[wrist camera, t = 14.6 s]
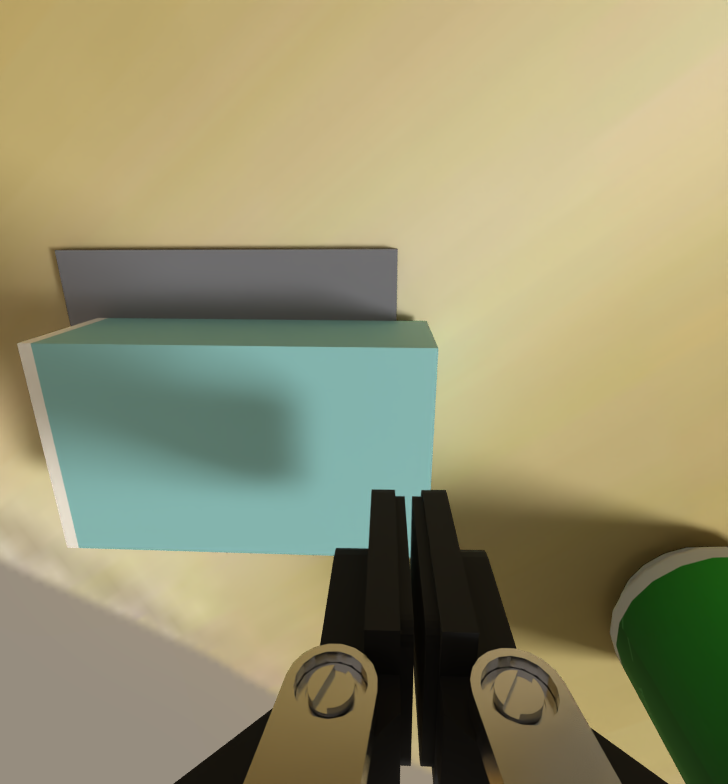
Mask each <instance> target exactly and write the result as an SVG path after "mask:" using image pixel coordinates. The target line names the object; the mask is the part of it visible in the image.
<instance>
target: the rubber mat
mask: <svg viewBox="0 0 728 784" xmlns="http://www.w3.org/2000/svg"><path fill="white" fill-rule="evenodd" d="M397 250H398V249H175V250H55V254H56V259H57V264H58V268H59V273H60V278H61V282H62V287H63V292H64V297H65V301H66V306H67V311H68V316H69V320H70V325H71V326H74V325H77V324H80V323H83V322H86V321H90V320H93V319H96V318H153V319H258V320H363V321H396V307H397Z"/></svg>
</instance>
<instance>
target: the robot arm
mask: <svg viewBox="0 0 728 784" xmlns="http://www.w3.org/2000/svg"><path fill="white" fill-rule="evenodd" d="M413 667H414V679H415V694H416V710H417V725H418V741H419V756H420V765H421V766H429V767H432V775H433V784H668V783H667V782H665V781H664V780H662V779H661V778H660V777H658V776H657V775H655V774H654V773H653V772H651V771H650V770H648V769H647V768H646V767H644V766H643V765H642V764H640V763H639V762H637V761H636V760H635V759H633V758H632V757H630V756H629V755H628V754H626V753H625V752H623V751H622V750H621V749H619V748H618V747H617V746H615V745H614V744H612V743H611V742H610V741H608V740H607V739H605V738H604V737H603V736H601V735H600V734H599V733H597V732H596V731H594V730H593V729H592V728H590V726H589V725H588V723H587V721H586V719H585V718H584V716H583V714H582V712H581V710H580V709H579V707H578V705H577V703H576V702H575V700H574V698H573V696H572V694H571V693H570V691H569V689H568V687H567V686H566V684H565V682H564V681H563V680H562V678H561V677H560V676H559V674H558V673H557V671H556V670H555V669H553V668H552V667H551V666H550V665H549V664H548V663H546V662H545V661H544V660H542V659H541V658H539V657H537V656H535V655H533V654H531V653H529V652H526V651H522V650H518V649H516V646H515V643H514V639H513V636H512V633H511V630H510V627H509V623H508V620H507V617H506V614H505V611H504V607H503V604H502V601H501V598H500V595H499V591H498V588H497V585H496V582H495V579H494V575H493V572H492V569H491V566H490V563H489V559H488V556H487V554H486V552H485V551H484V550H460V548H459V544H458V539H457V535H456V531H455V527H454V522H453V518H452V514H451V509H450V505H449V501H448V497H447V492H446V490H421V496H412V512H411V555H410V562H409V548H408V534H407V521H406V507H405V496H395V490H382V489H372V490H371V508H370V527H369V546H368V548H336V549H335V554H334V560H333V567H332V573H331V579H330V586H329V592H328V598H327V605H326V611H325V618H324V624H323V630H322V637H321V643H320V646H317V647H314V648H312V649H310V650H308V651H307V652H305V653H303V654H302V655H301V656H300V657H299V658H298V659H297V660H296V661H294V662H293V664H292V665H291V667H290V669H289V670H288V672H287V674H286V676H285V679H284V681H283V684H282V686H281V689H280V691H279V694H278V696H277V699H276V701H275V704H274V707H273V708H272V709H271V710H270V711H268V712H267V713H266V714H265V715H263V716H262V717H261V718H259V719H258V720H257V721H255V722H254V723H253V724H251V725H250V726H249V727H247V728H246V729H245V730H244V731H242V732H241V733H240V734H238V735H237V736H236V737H234V738H233V739H232V740H230V741H229V742H228V743H227V744H225V745H224V746H223V747H221V748H220V749H219V750H217V751H216V752H215V753H213V754H212V755H211V756H209V757H208V758H207V759H205V760H204V761H203V762H202V763H200V764H199V765H198V766H196V767H195V768H194V769H192V770H191V771H190V772H188V773H187V774H186V775H185V776H183V777H182V778H181V779H179V780H178V781H177V782H175V783H174V784H400V765H402V766H411V738H412V703H413Z"/></svg>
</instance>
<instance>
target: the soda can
mask: <svg viewBox="0 0 728 784" xmlns="http://www.w3.org/2000/svg"><path fill="white" fill-rule="evenodd" d="M610 635H611V638H612V642H613V645H614V648H615V652H616V655H617V657H618V659H619V661H620V663H621V664H622V666H623V668H624V670H625V672H626V674H627V676H628V677H629V679H630V681H631V683H632V685H633V687H634V689H635V690H636V692H637V694H638V696H639V698H640V700H641V702H642V703H643V705H644V707H645V709H646V711H647V713H648V715H649V716H650V718H651V720H652V722H653V724H654V726H655V728H656V729H657V731H658V733H659V735H660V737H661V739H662V741H663V742H664V744H665V746H666V748H667V750H668V752H669V754H670V755H671V757H672V759H673V761H674V763H675V765H676V767H677V768H678V770H679V772H680V774H681V776H682V778H683V780H684V781H685V783H686V784H728V547H687V548H683V549H679V550H676V551H672V552H668V553H665V554H663V555H661V556H659V557H657V558H655V559H654V560H652V561H650V562H648V563H646V564H645V565H643V566H642V567H641V568H640V569H639V570H638V571H637V572H636V573H635V574H634V575H633V576H632V577H631V578H630V579H629V581H628V582H627V584H626V586H625V588H624V590H623V592H622V593H621V595H620V598H619V600H618V602H617V604H616V606H615V607H614V609H613V613H612V620H611V628H610Z"/></svg>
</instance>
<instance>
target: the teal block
mask: <svg viewBox="0 0 728 784" xmlns="http://www.w3.org/2000/svg"><path fill="white" fill-rule="evenodd" d="M17 346H18V350H19V354H20V358H21V362H22V366H23V370H24V374H25V378H26V382H27V386H28V390H29V394H30V398H31V402H32V406H33V410H34V414H35V418H36V423H37V427H38V431H39V435H40V439H41V443H42V447H43V451H44V455H45V459H46V463H47V467H48V471H49V475H50V479H51V483H52V487H53V491H54V496H55V500H56V504H57V508H58V512H59V516H60V520H61V524H62V528H63V532H64V536H65V540H66V544H67V547H68V548H101V549H133V550H166V551H199V552H231V553H264V554H297V555H329V556H334V554H335V549H336V548H368V546H369V527H370V508H371V490H372V489H382V490H395V496H405V507H406V521H407V534H408V548H409V558H410V555H411V512H412V496H421V490H431V472H432V454H433V436H434V417H435V399H436V380H437V362H438V347H437V344H436V342H435V340H434V337H433V335H432V333H431V330H430V328H429V326H428V323H427V321H363V320H258V319H153V318H96V319H93V320H90V321H86V322H83V323H80V324H77V325H74V326H70V327H67V328H64V329H61V330H58V331H55V332H51V333H48V334H45V335H42V336H39V337H35V338H32V339H29V340H26V341H23V342H19V343H17Z"/></svg>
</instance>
